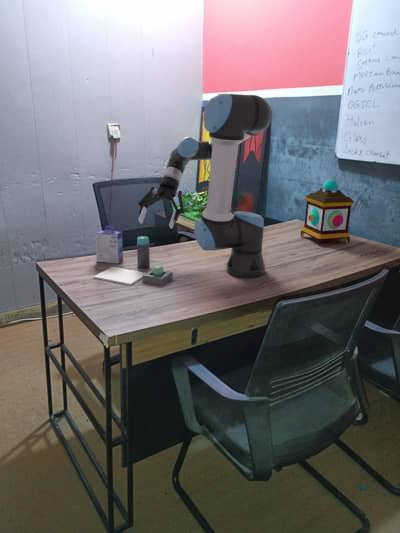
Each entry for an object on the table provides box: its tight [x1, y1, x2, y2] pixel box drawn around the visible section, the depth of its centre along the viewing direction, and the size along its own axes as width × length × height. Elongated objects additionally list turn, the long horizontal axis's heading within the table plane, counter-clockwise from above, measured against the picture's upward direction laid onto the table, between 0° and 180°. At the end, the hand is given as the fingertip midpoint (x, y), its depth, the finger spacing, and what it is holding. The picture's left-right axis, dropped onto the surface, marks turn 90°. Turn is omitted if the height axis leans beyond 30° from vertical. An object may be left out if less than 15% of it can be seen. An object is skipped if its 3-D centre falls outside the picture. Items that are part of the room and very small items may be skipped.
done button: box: [151, 264, 164, 277], centre depth 158 cm, size 4×4×3 cm
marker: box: [136, 235, 151, 270], centre depth 171 cm, size 5×5×12 cm
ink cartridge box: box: [94, 225, 124, 264], centre depth 176 cm, size 10×6×14 cm, turn 78°
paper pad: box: [93, 266, 147, 286], centre depth 162 cm, size 16×12×1 cm
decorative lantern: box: [300, 178, 355, 247], centre depth 210 cm, size 20×20×30 cm
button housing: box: [142, 269, 173, 286], centre depth 159 cm, size 8×8×2 cm
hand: (155, 224), depth 174 cm, fingers open, 13 cm apart
